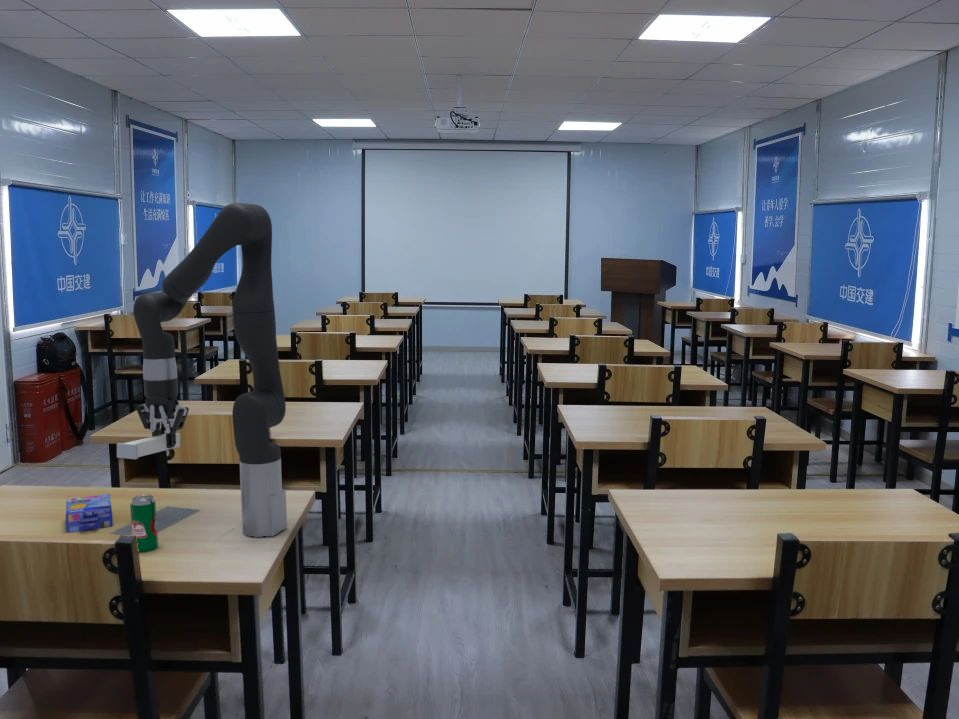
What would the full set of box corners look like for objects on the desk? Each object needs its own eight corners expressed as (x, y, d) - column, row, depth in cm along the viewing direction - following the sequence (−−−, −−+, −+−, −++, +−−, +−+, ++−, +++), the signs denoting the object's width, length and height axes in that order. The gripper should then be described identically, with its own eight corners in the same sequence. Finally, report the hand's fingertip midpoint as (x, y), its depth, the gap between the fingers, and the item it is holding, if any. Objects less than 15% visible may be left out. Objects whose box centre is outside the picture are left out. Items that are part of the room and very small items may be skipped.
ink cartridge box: (110, 491, 197) (112, 510, 184) (111, 513, 198) (114, 533, 185) (65, 497, 193) (64, 517, 180) (66, 519, 194) (66, 540, 181)
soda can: (128, 552, 173) (124, 499, 171) (147, 544, 177) (144, 492, 175) (144, 556, 170) (140, 502, 169) (163, 548, 175) (160, 496, 173)
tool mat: (201, 512, 199) (201, 509, 198) (146, 540, 180) (146, 537, 180) (167, 508, 201) (167, 506, 201) (109, 535, 182) (109, 533, 182)
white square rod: (183, 446, 195) (183, 433, 194) (135, 459, 179) (135, 445, 178) (166, 445, 196) (166, 432, 196) (116, 457, 180) (116, 443, 180)
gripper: (195, 375, 191) (199, 445, 193) (146, 372, 195) (150, 441, 197) (175, 380, 184) (179, 453, 186) (124, 377, 188) (129, 448, 190)
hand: (164, 446), depth 192 cm, fingers closed on white square rod, 3 cm apart
